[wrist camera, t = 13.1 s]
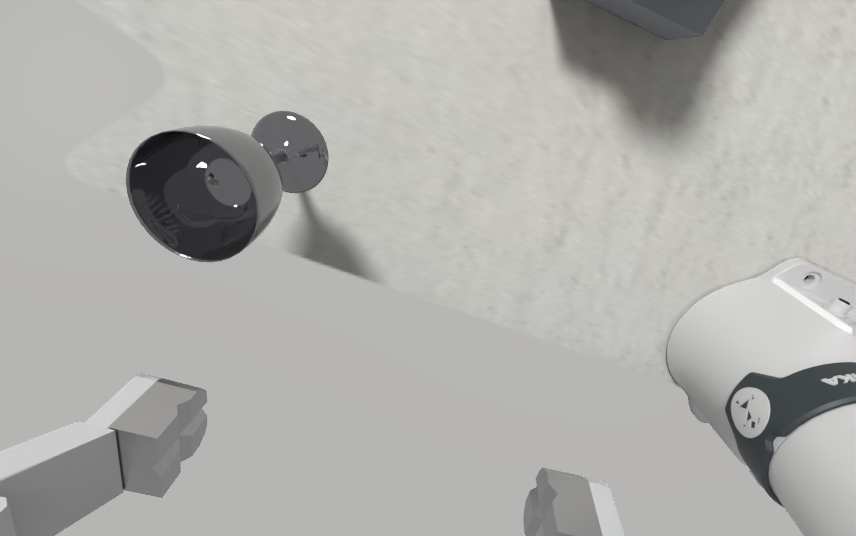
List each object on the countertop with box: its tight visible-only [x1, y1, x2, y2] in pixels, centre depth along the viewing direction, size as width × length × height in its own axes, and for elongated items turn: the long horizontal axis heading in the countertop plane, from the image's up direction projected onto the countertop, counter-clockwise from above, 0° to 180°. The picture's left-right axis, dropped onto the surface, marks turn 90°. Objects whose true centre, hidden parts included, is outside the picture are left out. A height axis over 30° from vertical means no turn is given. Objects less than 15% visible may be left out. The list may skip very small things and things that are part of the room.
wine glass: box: [126, 111, 328, 262], centre depth 33 cm, size 8×8×15 cm
